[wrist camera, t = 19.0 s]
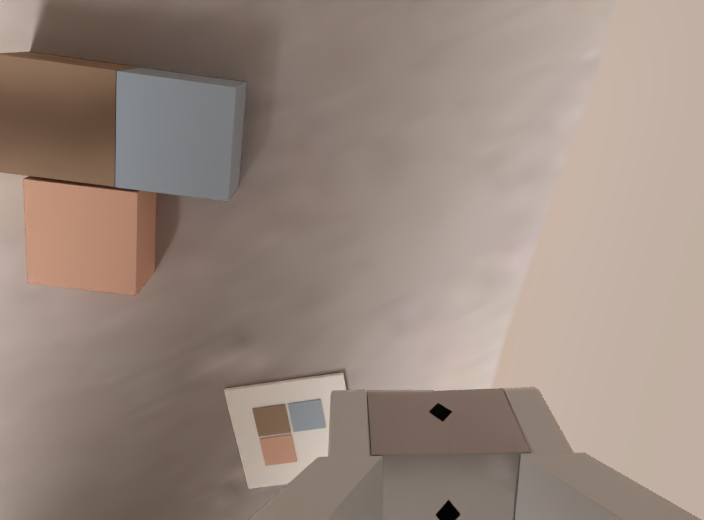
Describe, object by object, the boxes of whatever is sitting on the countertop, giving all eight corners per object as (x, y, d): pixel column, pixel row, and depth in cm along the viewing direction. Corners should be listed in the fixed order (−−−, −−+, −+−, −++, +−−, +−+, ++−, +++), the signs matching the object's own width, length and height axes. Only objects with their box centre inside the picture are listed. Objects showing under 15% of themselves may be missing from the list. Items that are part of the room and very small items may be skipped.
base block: (137, 171, 38) (114, 186, 34) (34, 158, 37) (-1, 172, 34) (140, 66, 36) (115, 70, 32) (31, 51, 35) (-7, 53, 32)
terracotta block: (155, 270, 40) (135, 295, 36) (58, 259, 39) (27, 283, 36) (157, 177, 38) (137, 192, 34) (55, 164, 37) (23, 179, 34)
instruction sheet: (360, 471, 45) (360, 475, 44) (249, 486, 45) (248, 490, 45) (343, 372, 42) (343, 375, 42) (224, 388, 42) (223, 391, 42)
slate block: (239, 184, 38) (228, 201, 34) (138, 171, 38) (115, 187, 34) (247, 81, 36) (236, 87, 32) (140, 67, 36) (116, 71, 32)
